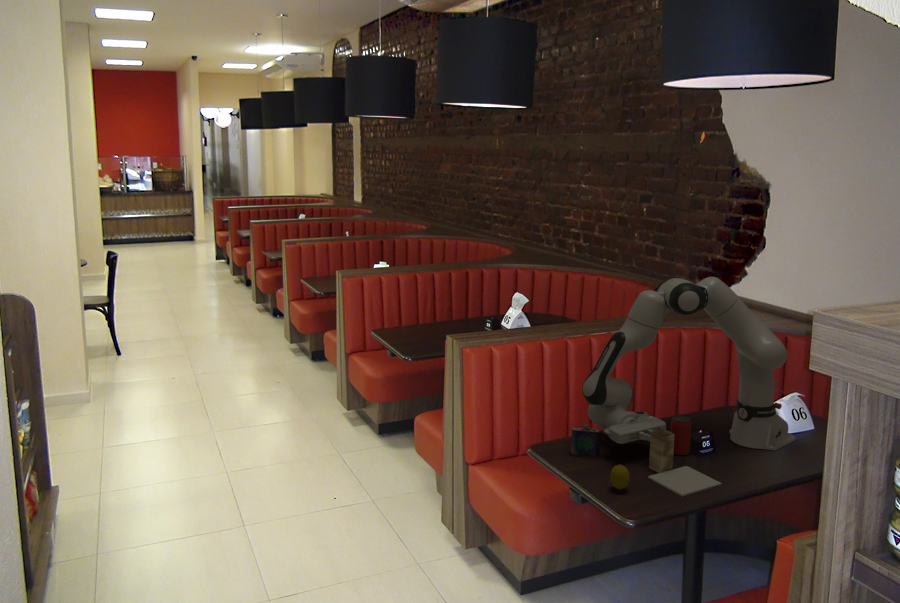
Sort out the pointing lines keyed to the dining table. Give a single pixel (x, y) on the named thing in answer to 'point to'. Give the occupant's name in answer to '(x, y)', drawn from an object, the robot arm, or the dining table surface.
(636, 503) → the dining table surface
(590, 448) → the flask
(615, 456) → the dining table surface
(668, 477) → the grey mat
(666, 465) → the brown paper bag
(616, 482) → the lemon
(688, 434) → the beer can
